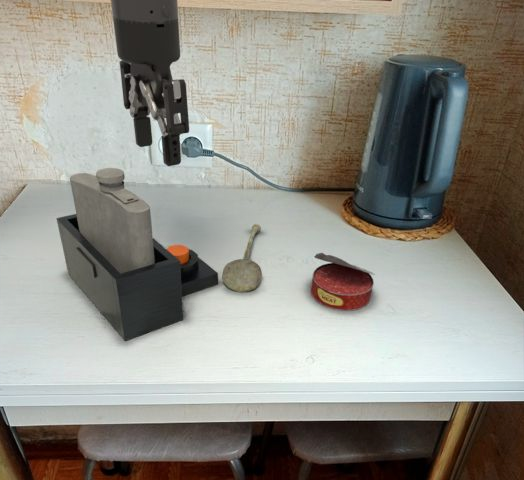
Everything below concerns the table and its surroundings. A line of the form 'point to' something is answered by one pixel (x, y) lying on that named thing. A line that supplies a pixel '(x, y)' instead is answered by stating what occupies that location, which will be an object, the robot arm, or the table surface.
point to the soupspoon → (243, 270)
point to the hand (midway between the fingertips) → (158, 154)
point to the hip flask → (113, 219)
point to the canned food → (341, 284)
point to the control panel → (196, 275)
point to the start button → (179, 252)
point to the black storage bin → (124, 284)
